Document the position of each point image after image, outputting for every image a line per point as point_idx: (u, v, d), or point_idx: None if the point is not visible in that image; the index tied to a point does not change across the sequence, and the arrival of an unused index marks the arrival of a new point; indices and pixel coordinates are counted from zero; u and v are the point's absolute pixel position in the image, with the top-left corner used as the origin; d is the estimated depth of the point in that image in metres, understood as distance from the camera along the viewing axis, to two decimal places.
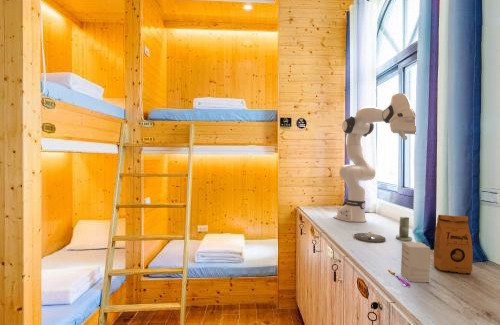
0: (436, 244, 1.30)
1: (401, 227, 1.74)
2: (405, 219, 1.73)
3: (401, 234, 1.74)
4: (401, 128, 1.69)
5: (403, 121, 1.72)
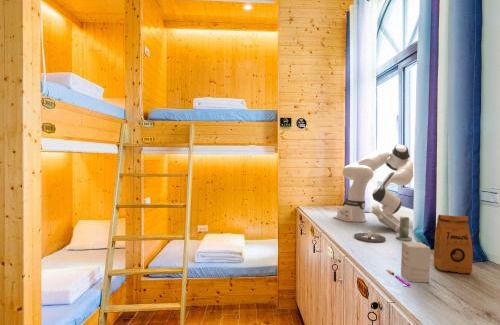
0: (436, 244, 1.30)
1: (401, 227, 1.74)
2: (405, 219, 1.73)
3: (401, 234, 1.74)
4: (393, 229, 1.94)
5: None
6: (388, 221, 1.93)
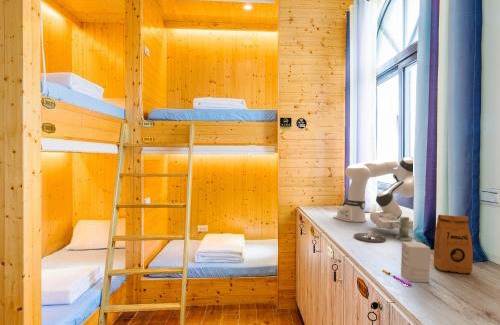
0: (436, 244, 1.30)
1: None
2: (405, 219, 1.73)
3: (401, 234, 1.74)
4: (388, 221, 1.79)
5: (387, 219, 1.84)
6: None
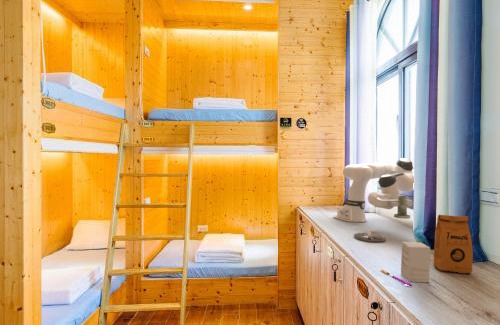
0: (436, 244, 1.30)
1: None
2: (403, 197, 1.72)
3: (399, 212, 1.73)
4: (386, 200, 1.78)
5: (385, 199, 1.83)
6: None
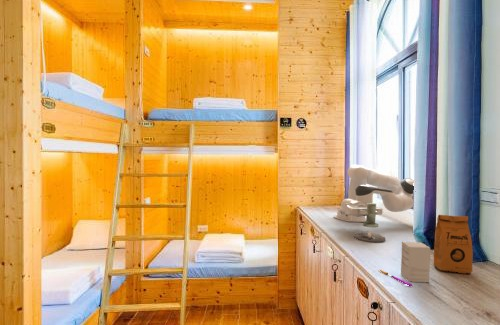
0: (436, 244, 1.30)
1: (368, 213, 1.72)
2: (372, 205, 1.71)
3: (368, 221, 1.72)
4: (355, 208, 1.77)
5: (355, 206, 1.82)
6: None
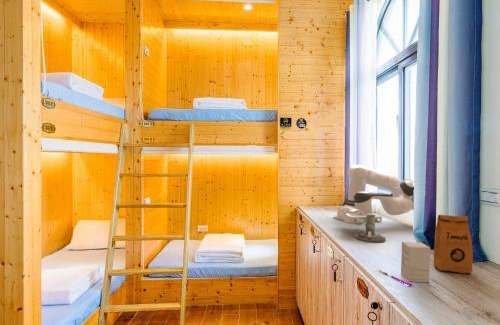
0: (436, 244, 1.30)
1: (367, 224, 1.73)
2: (371, 216, 1.71)
3: (367, 231, 1.73)
4: (355, 216, 1.77)
5: (355, 214, 1.82)
6: (364, 220, 1.78)
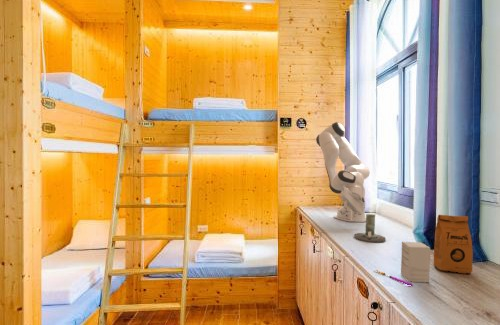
0: (436, 244, 1.30)
1: (367, 224, 1.73)
2: (371, 216, 1.71)
3: (367, 231, 1.73)
4: None
5: None
6: (352, 206, 1.95)
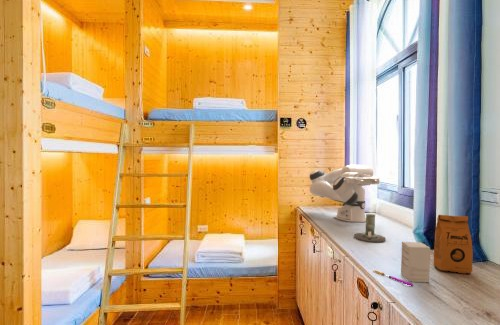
0: (436, 244, 1.30)
1: (367, 224, 1.73)
2: (371, 216, 1.71)
3: (367, 231, 1.73)
4: (373, 183, 1.96)
5: None
6: (365, 180, 1.94)
